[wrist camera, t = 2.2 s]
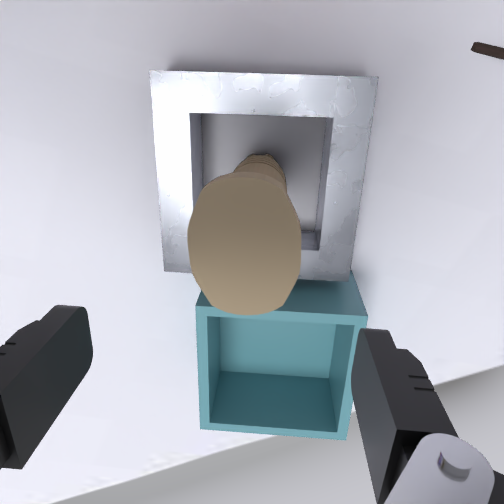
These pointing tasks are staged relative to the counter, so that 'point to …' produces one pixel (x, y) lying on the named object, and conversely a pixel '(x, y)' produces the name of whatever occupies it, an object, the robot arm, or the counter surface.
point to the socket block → (264, 103)
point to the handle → (246, 239)
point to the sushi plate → (488, 50)
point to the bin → (281, 363)
